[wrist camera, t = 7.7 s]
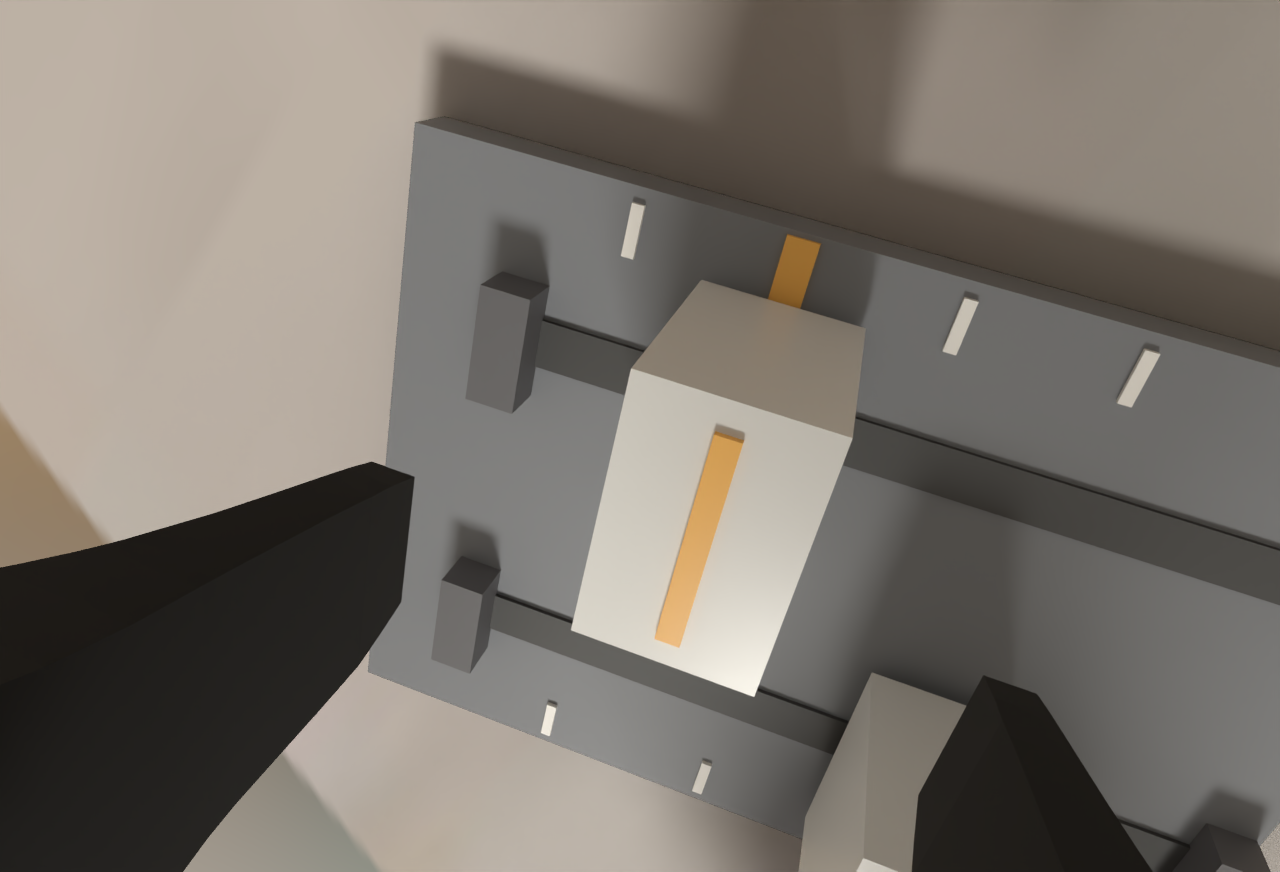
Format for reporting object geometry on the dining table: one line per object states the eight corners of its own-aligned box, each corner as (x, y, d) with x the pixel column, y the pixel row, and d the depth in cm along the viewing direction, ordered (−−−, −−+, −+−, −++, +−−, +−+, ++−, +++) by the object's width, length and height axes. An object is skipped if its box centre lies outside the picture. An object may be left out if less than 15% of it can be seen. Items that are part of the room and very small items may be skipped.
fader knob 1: (789, 540, 17) (753, 701, 13) (646, 493, 18) (568, 634, 13) (865, 328, 15) (852, 442, 11) (701, 279, 15) (629, 371, 11)
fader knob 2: (932, 864, 20) (940, 1086, 16) (805, 816, 20) (780, 1018, 16) (1016, 723, 18) (1052, 936, 13) (871, 672, 18) (863, 863, 14)
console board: (1137, 926, 21) (1160, 1016, 19) (391, 643, 24) (346, 697, 22) (1543, 425, 14) (1644, 486, 12) (444, 116, 17) (387, 127, 15)
